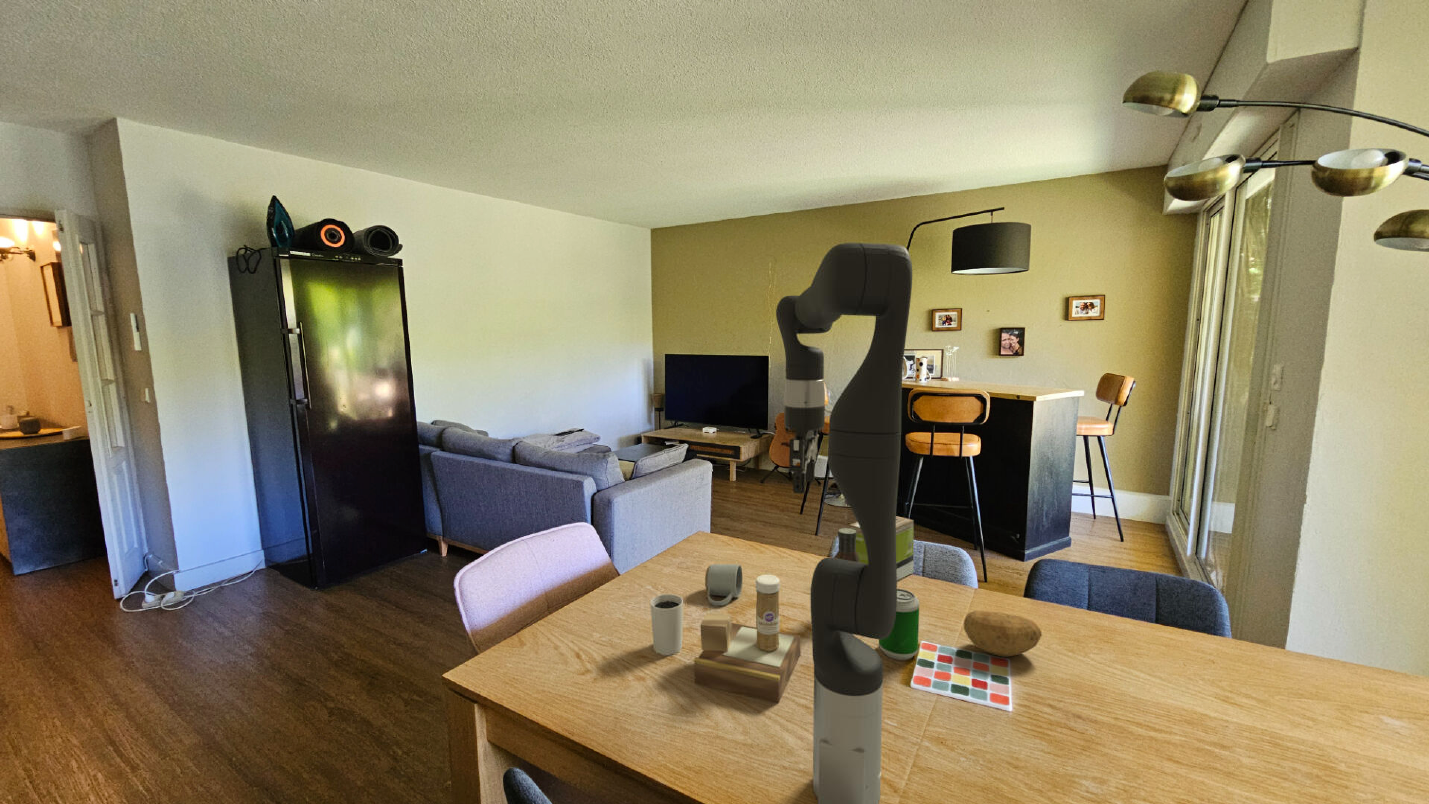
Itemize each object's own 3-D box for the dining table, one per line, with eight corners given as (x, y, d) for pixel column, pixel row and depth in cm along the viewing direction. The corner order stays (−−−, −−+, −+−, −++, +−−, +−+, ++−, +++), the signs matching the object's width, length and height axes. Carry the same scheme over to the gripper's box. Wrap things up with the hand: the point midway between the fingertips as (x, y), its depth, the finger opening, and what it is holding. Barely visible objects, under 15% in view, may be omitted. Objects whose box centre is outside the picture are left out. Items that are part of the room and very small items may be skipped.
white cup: (646, 644, 119) (645, 598, 118) (676, 636, 122) (675, 591, 121) (658, 660, 113) (657, 612, 112) (689, 651, 116) (688, 604, 115)
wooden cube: (725, 626, 108) (731, 614, 113) (700, 625, 109) (706, 612, 114) (727, 651, 108) (732, 638, 113) (701, 650, 109) (708, 636, 114)
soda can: (920, 664, 111) (922, 605, 109) (880, 660, 112) (881, 602, 111) (915, 643, 118) (916, 588, 116) (877, 640, 119) (878, 585, 118)
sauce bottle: (862, 624, 126) (863, 537, 124) (833, 622, 127) (834, 535, 125) (859, 610, 132) (860, 526, 130) (831, 608, 133) (832, 525, 131)
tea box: (881, 562, 159) (882, 510, 158) (914, 573, 152) (915, 519, 150) (847, 577, 150) (848, 522, 148) (880, 590, 142) (882, 533, 140)
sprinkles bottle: (761, 654, 107) (760, 585, 106) (752, 641, 112) (752, 575, 110) (783, 649, 109) (783, 581, 107) (774, 637, 113) (774, 572, 111)
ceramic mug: (711, 585, 146) (711, 557, 145) (743, 589, 144) (742, 559, 143) (700, 606, 136) (699, 575, 135) (734, 609, 134) (734, 578, 133)
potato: (1047, 671, 108) (1049, 631, 107) (966, 661, 111) (968, 622, 110) (1032, 643, 117) (1034, 606, 116) (958, 635, 121) (960, 599, 120)
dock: (778, 703, 100) (778, 678, 99) (694, 683, 106) (694, 659, 105) (800, 654, 114) (800, 633, 114) (725, 639, 120) (725, 619, 120)
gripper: (817, 409, 100) (816, 499, 102) (830, 399, 113) (830, 479, 115) (775, 407, 103) (775, 495, 105) (793, 397, 116) (793, 476, 118)
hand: (804, 486), depth 110 cm, fingers open, 8 cm apart
